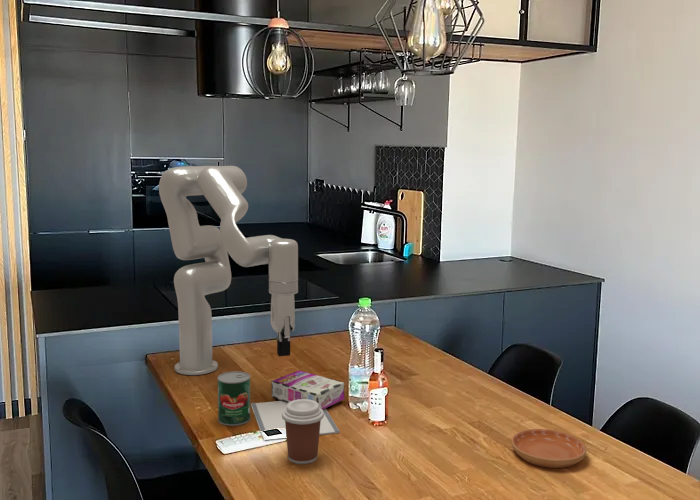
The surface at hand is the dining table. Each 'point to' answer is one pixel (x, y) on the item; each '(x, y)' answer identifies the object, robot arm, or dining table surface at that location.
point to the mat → (271, 418)
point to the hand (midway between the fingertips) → (283, 354)
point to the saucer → (548, 448)
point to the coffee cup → (302, 430)
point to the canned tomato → (234, 398)
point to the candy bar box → (308, 388)
